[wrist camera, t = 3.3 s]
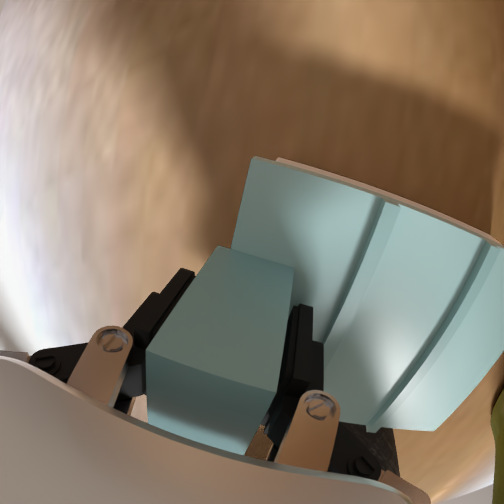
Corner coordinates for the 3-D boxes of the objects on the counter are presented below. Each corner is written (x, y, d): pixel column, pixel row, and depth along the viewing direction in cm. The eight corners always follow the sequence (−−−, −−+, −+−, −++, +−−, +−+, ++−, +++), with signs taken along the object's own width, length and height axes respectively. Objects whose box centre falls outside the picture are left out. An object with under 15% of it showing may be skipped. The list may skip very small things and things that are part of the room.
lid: (431, 421, 15) (447, 508, 9) (197, 374, 16) (152, 474, 10) (541, 265, 10) (615, 346, 4) (242, 152, 11) (154, 197, 5)
